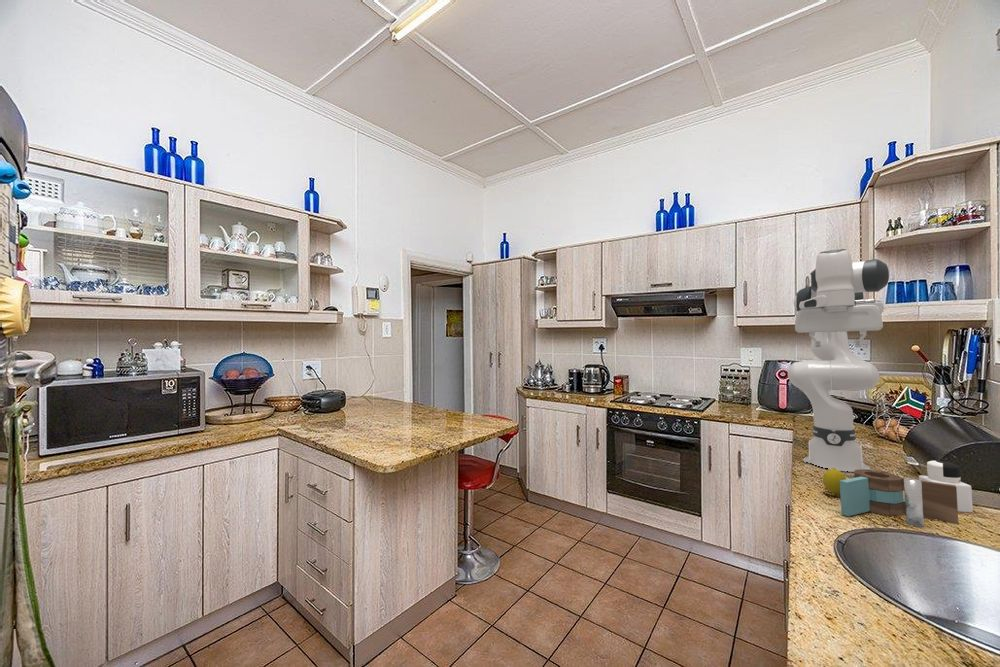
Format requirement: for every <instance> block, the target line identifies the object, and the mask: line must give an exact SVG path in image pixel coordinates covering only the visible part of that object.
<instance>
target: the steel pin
mask: <svg viewBox="0 0 1000 667" xmlns="http://www.w3.org/2000/svg"><path fill="white" fill-rule="evenodd" d="M903 478H904V490H905V492H904V501H905V508H906V514H905V522H906V524H907V525H908V524H909V525H908V526H910V525H913V526H917V527H916V528H919V527H923V528H925V523H924V521H925V520H924V519H925V518H924V517H923V501H922V483H921V481H920V480H919V479H917V478H911V477H903ZM904 490H903V491H904ZM913 526H912V527H913Z"/></svg>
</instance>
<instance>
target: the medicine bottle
mask: <svg viewBox="0 0 1000 667" xmlns="http://www.w3.org/2000/svg"><path fill="white" fill-rule="evenodd" d="M926 471H927V472H926V473H927V475H918V480H923V481H929V482H936V483H943V484H950V485H955V486H956V489H957V506H958V513H959V512H961V513H970V514H971V513H973V512H974V509H973V508H974V507H973V491H972V485H970V484H967V483H966V482H962V481H961V478H962V477H961V467H960V466H959V465H958V464H956V463H954V462H949V461H945V460H930V461H927V462H926Z"/></svg>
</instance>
